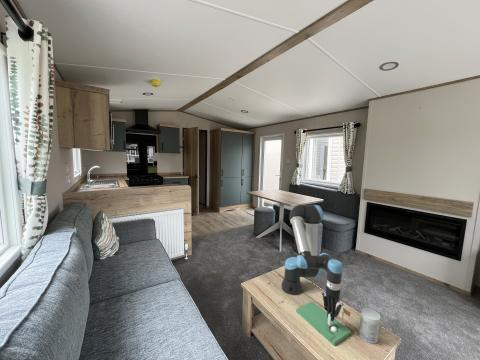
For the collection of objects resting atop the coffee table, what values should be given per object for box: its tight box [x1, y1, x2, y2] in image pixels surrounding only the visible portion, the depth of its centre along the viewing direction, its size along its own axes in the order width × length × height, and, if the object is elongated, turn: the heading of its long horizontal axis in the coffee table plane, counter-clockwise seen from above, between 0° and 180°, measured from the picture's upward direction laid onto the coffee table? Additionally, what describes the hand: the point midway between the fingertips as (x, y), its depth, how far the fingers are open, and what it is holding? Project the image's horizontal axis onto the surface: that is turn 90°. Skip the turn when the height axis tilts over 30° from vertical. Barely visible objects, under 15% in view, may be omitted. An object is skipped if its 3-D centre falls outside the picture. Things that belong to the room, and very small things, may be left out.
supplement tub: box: [358, 307, 382, 344], centre depth 119 cm, size 10×10×15 cm
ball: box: [330, 326, 337, 332], centre depth 122 cm, size 3×3×3 cm
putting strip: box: [295, 301, 352, 346], centre depth 129 cm, size 28×15×14 cm, turn 31°
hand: (330, 323), depth 124 cm, fingers closed
